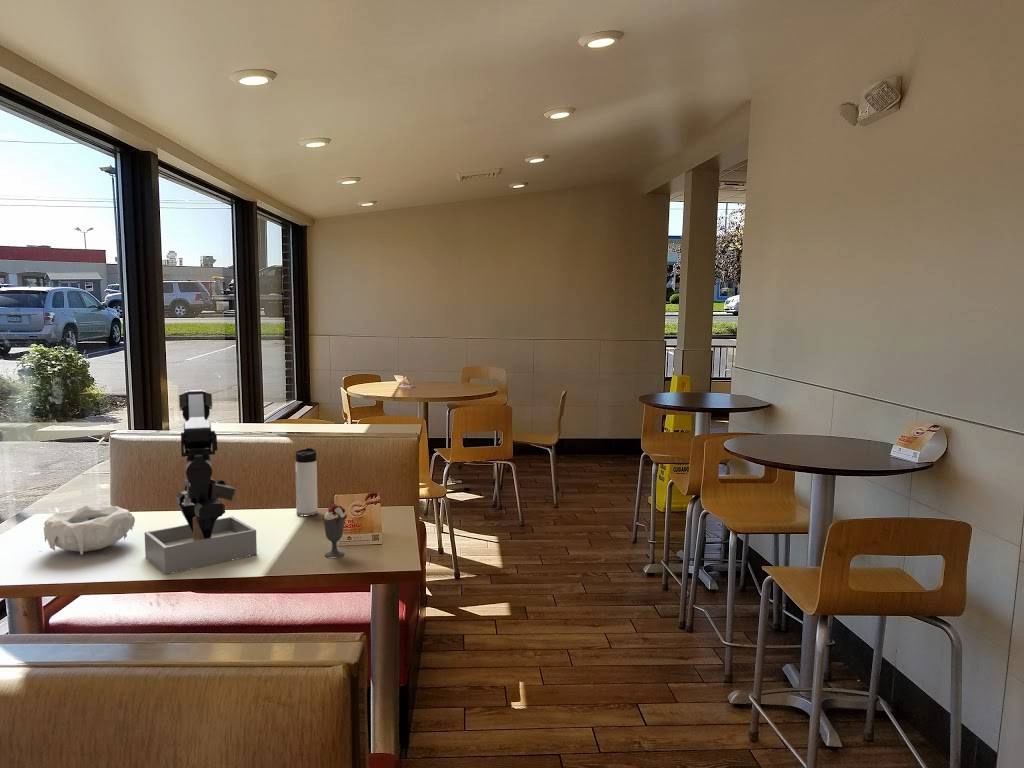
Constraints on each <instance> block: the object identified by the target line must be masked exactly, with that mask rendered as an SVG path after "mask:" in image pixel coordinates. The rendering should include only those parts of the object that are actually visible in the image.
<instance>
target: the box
mask: <svg viewBox="0 0 1024 768" xmlns="http://www.w3.org/2000/svg"><path fill="white" fill-rule="evenodd" d="M257 546H258V545H257V529H256V528H253V527H251V526H250V525H249V524H246V523H245V522H244V521H241V520H239V519H238V518H236V517H234V516H228V517H222V518H218V519H216V521H215V524H214V527H213V530H212V534H211V537H210V538H207V539H202V540H197V541H194V540H193V532H192V530H191V528H190V526H189V525H188V524H182V525H178V526H171V527H166V528H161V529H154V530H149V531H144V547H145V548H144V552H145V558H146V559H147V560H148V561H149V562H150V563H151V564H153V565H154V566H155V567H156V568H157V569H158V570H159V571H160V570H161V571H160V572H162V574H164V575H165V574H166V575H169V574H168V573H171V574H173V573H172V572H175V573H177V572H176V571H180V572H182V571H181V570H184V571H188V570H187V569H189V570H192V569H191V568H193V569H197V568H196V567H198V568H203V567H206V566H211V565H216V564H220V562H221V563H224V561H226V562H228V560H230V561H233V560H232V559H235V560H238V559H237V558H239V559H242V558H241V557H244V558H247V557H246V556H248V557H250V556H249V555H253V556H255V555H254V554H257V553H258V550H257V549H258V548H257ZM257 555H258V554H257ZM202 566H203V567H202Z"/></svg>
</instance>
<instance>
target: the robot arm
mask: <svg viewBox="0 0 1024 768" xmlns="http://www.w3.org/2000/svg"><path fill="white" fill-rule="evenodd" d="M178 401H179V405H178V407H179V408H178V409H179V411H182V412H181V413H182V418H183V419H184V421H185V422H184V423H183V431H180V452H181V458H182V457H184V458H185V475H186V479H185V478H184V480H183V483H184V485H185V486H184V490H183V491H179V492H177V494H176V495H175V503H176V504H177V507H178V508H179V510H180V511H181V513H182V516H183V517H184V519H185V521H186V522H187V525H189V526H190V528H191V530H192V532H193V517H195V518H196V521H197V523H198V525H199V528H200V530H201V533H202V535H203V537H204V539H207V538H210V537H211V534H212V530H213V527H214V524H215V521H216V519H220V517H222V516H223V515H225V514H226V505H225V504H224V503H222V501H221V502H220V500H219V499H225V500H228V501H230V502H232V501H233V498H234V496H235V493H236V488H235V487H233V486H231V485H227V484H226V481H225V480H224V479H223V480H222V479H219V478H217V479H216V480H215V479H214V478H212V475H213V469H212V457H211V456H212V455H216V451H218V437H217V436H218V435H217V433H216V432H215V430H214V429H212V426H211V422H210V421H209V420H208V419H209V418H210V410H212V409H213V394H212V393H208V392H206V390H203V389H190V390H185V392H184V393H182V394H179V395H178Z"/></svg>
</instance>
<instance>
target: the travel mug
mask: <svg viewBox="0 0 1024 768" xmlns="http://www.w3.org/2000/svg"><path fill="white" fill-rule="evenodd" d="M317 461H318V460H317V450H316V449H313V447H312V448H311V447H310V448H309V447H306V448H305V449H304V448H303V449H299V450H296V451H295V500H296V501H295V503H296V504H295V506H296V510H295V512H296V516H298V515H303V516H304V515H313V514H316V513H317V512H318V511H319V510H318V470H317V469H318V466H317V465H318V462H317ZM318 513H319V512H318ZM318 513H317V514H318ZM317 514H316V515H317ZM313 516H314V515H313Z"/></svg>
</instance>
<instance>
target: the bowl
mask: <svg viewBox="0 0 1024 768" xmlns="http://www.w3.org/2000/svg"><path fill="white" fill-rule="evenodd" d="M135 521H136V519H135V516H133V514H132V513H131V512H130V510H128V509H126V508H122V507H120V506H117V505H115V506H114V505H109V504H103V505H99V506H97V505H95V506H94V505H83V506H79V507H75V508H73V509H69V510H66V511H60V512H55V513H54V514H52V515H51V516H50V517H49V518H47V519H45V521H44V523H43V525H44V526H43V535H44V543H46V542H47V543H48V545H49V548H50V549H51V550H53V551H54V552H56V547H57V548H59V549H62V550H64V551H71V552H79V554H80V556H82V555H83V554H84V552H91V551H92V552H93V551H98V550H102V549H105V548H107V547H109V546H112V545H114V544H116V543H117V542H119V541H121V540H122V538H123V540H125V539H126V538H127V537H128V532H129V531H130V530H131V531H133V529H134V527H135Z"/></svg>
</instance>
